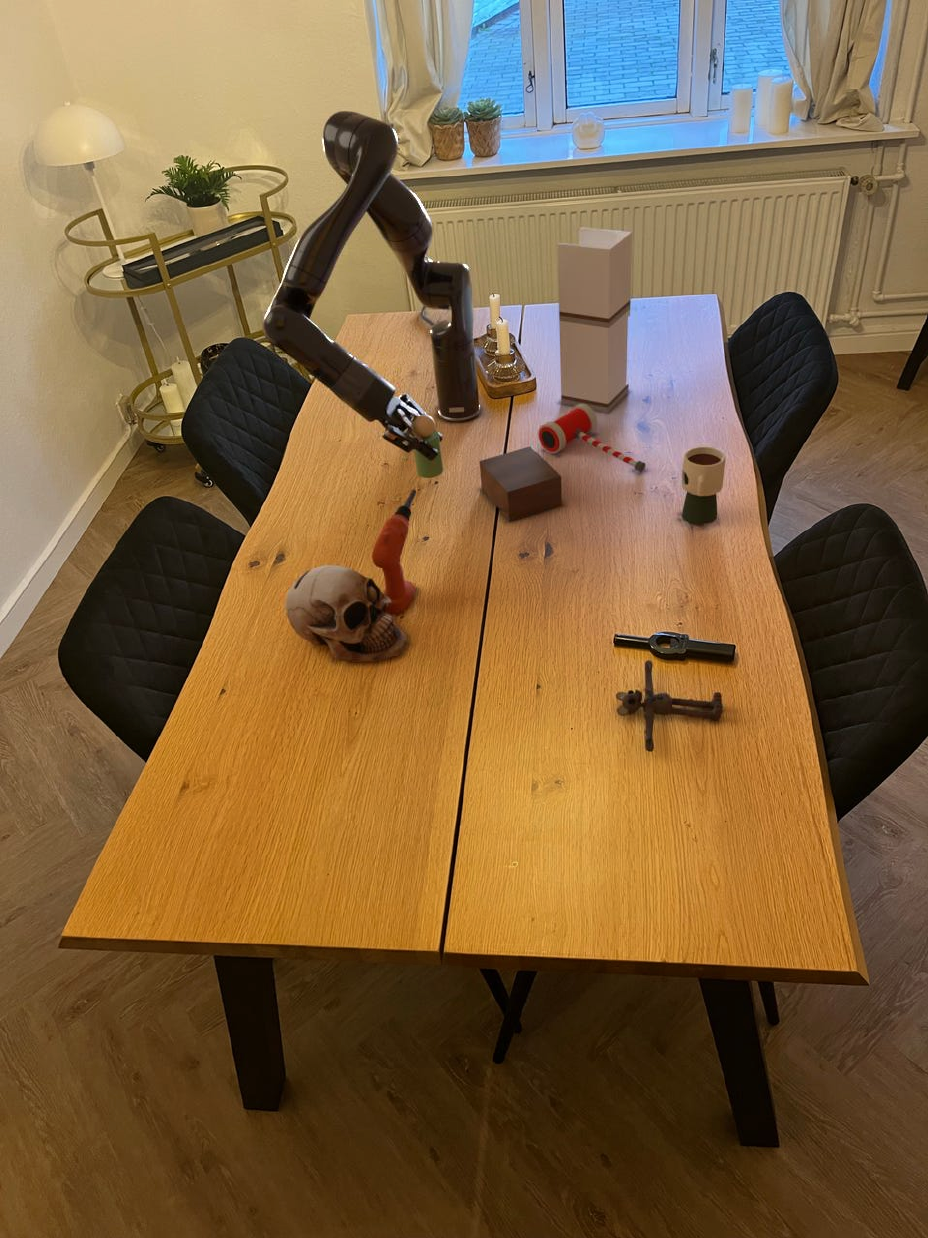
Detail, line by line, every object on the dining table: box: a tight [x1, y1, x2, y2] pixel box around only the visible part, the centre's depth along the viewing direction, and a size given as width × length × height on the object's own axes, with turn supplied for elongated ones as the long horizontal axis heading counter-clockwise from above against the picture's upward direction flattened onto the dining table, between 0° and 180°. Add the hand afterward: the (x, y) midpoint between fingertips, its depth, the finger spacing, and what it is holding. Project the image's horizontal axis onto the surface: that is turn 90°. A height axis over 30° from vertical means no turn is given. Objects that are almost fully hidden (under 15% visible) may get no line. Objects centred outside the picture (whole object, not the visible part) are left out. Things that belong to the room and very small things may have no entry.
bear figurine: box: [615, 659, 724, 753], centre depth 131 cm, size 18×4×14 cm
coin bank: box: [285, 564, 408, 663], centre depth 148 cm, size 16×17×13 cm
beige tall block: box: [556, 226, 633, 414], centre depth 196 cm, size 11×11×35 cm
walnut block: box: [479, 445, 563, 522], centre depth 177 cm, size 13×11×6 cm
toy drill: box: [371, 489, 417, 614], centre depth 156 cm, size 5×19×15 cm, turn 163°
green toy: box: [411, 414, 444, 479], centre depth 166 cm, size 5×5×11 cm
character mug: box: [681, 445, 727, 525], centre depth 164 cm, size 11×7×13 cm, turn 164°
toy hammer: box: [537, 404, 646, 473], centre depth 187 cm, size 23×12×6 cm, turn 44°
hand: (437, 448), depth 167 cm, fingers closed on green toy, 4 cm apart
